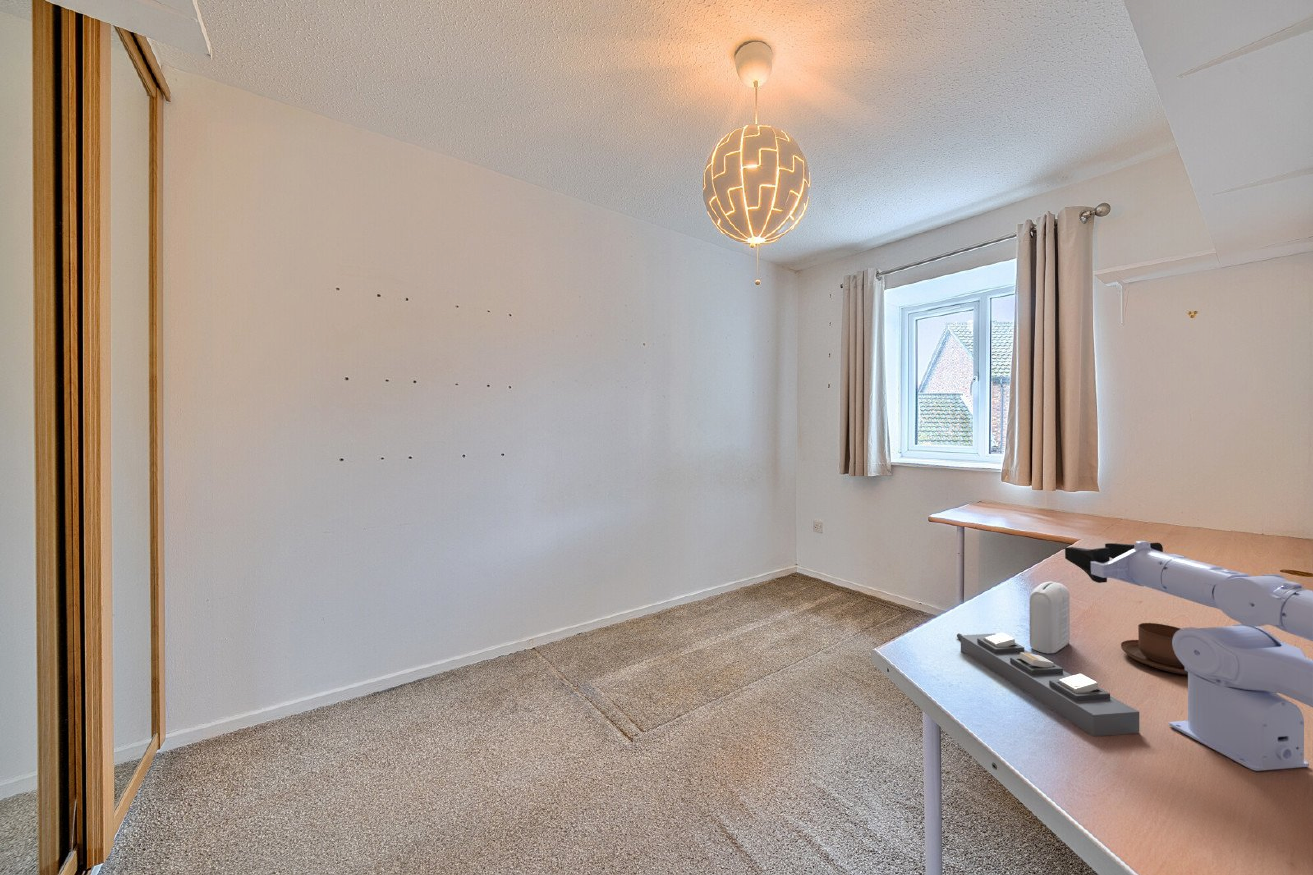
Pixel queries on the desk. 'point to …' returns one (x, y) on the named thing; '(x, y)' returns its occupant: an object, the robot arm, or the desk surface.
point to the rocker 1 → (1000, 640)
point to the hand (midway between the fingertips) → (1086, 551)
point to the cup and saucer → (1155, 647)
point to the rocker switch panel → (1054, 688)
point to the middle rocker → (1036, 660)
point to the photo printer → (1049, 617)
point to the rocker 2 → (1079, 683)
